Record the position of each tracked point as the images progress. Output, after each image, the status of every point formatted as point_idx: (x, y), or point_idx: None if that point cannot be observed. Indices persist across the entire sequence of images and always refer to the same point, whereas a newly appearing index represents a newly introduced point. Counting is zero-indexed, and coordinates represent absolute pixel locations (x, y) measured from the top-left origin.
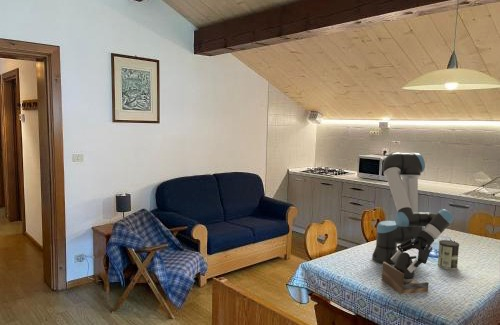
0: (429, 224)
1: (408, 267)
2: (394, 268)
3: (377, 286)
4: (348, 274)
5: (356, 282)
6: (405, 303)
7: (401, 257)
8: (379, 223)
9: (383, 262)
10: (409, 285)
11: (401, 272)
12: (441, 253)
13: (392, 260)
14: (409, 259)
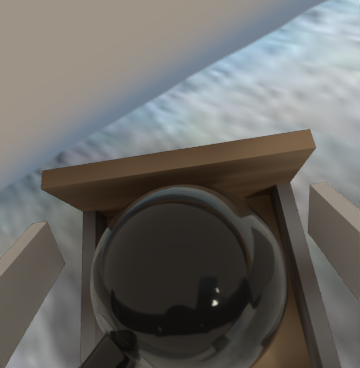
0: None
1: (35, 233)
2: (153, 163)
3: (198, 138)
4: (343, 56)
5: (244, 66)
6: (21, 189)
7: (140, 197)
8: None
9: (298, 131)
10: (86, 256)
11: (67, 180)
12: None
13: (310, 203)
14: (92, 300)
